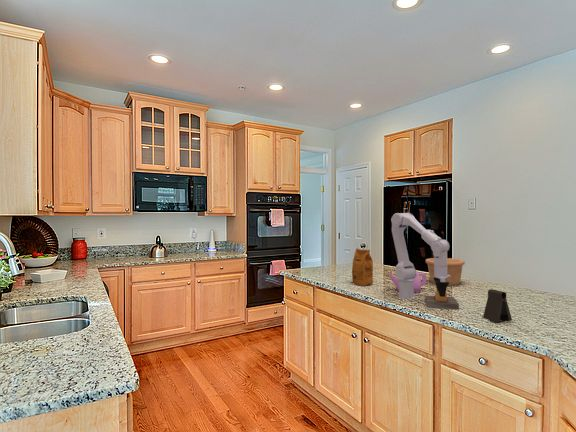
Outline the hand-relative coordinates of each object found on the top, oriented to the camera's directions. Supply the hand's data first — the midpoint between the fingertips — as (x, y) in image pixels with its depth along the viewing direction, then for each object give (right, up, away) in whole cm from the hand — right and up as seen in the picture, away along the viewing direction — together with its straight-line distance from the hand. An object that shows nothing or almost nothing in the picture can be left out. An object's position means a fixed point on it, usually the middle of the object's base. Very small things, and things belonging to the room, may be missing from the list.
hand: (441, 294), depth 162 cm
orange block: (0, -5, 0) cm, 5 cm away
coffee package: (-26, -6, +52) cm, 58 cm away
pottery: (+25, -5, +50) cm, 56 cm away
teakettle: (-4, -6, +35) cm, 36 cm away
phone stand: (+13, -6, -22) cm, 26 cm away
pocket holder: (0, -5, 0) cm, 5 cm away
